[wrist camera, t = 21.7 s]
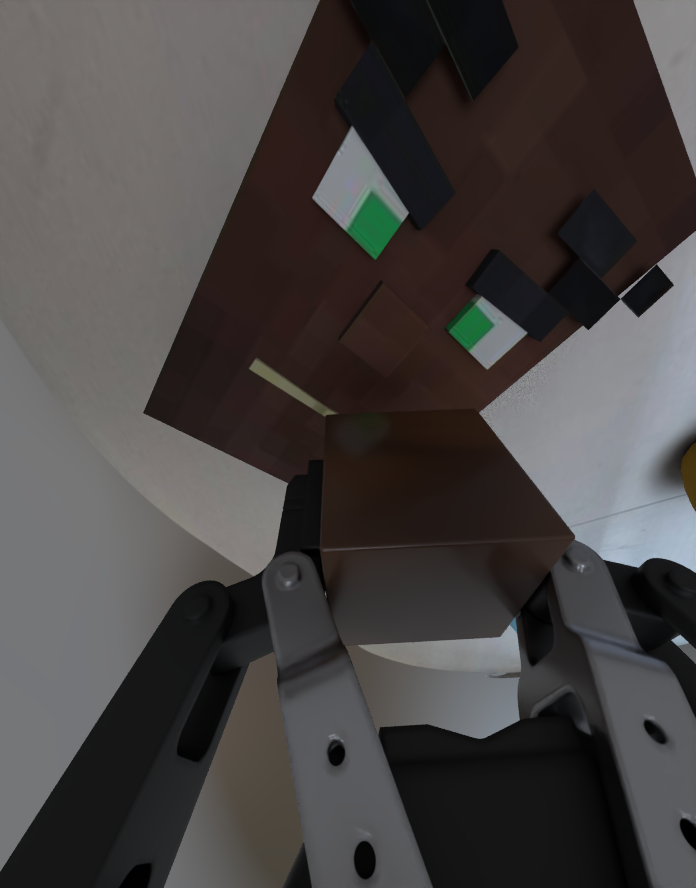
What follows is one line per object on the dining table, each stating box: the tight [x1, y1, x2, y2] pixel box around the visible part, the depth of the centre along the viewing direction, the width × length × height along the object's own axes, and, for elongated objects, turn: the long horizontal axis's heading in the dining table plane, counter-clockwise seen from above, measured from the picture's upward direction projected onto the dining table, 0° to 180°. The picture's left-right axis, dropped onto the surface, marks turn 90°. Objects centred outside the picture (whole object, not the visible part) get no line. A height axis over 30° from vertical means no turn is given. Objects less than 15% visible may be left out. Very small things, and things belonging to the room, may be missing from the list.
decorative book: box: [143, 0, 696, 483], centre depth 18 cm, size 19×8×30 cm
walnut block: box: [320, 408, 575, 646], centre depth 9 cm, size 5×5×5 cm
